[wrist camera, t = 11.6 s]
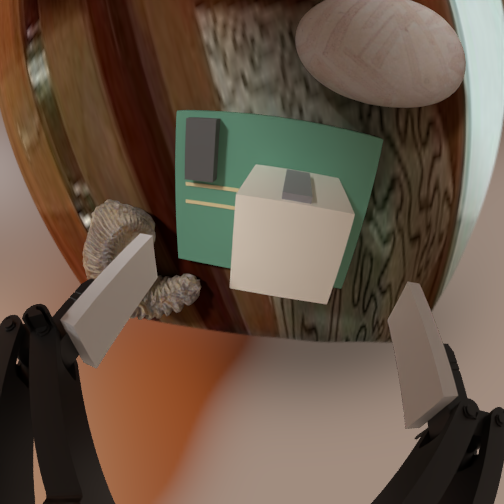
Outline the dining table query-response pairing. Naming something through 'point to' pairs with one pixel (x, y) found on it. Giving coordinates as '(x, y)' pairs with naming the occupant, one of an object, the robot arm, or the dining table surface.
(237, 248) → the plug
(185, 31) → the dining table surface
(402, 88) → the decorative stone
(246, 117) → the board
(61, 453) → the robot arm
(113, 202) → the seashell
